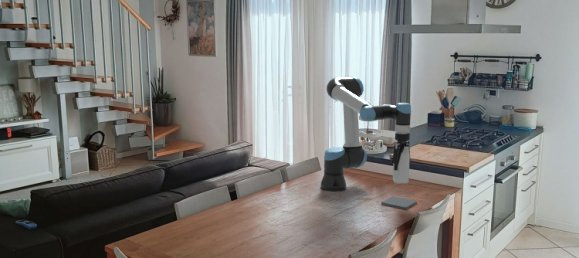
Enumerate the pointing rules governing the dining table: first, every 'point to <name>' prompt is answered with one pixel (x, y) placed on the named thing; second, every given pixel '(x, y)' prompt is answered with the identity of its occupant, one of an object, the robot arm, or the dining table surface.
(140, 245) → the dining table surface
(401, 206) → the slate board
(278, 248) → the dining table surface
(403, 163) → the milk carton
